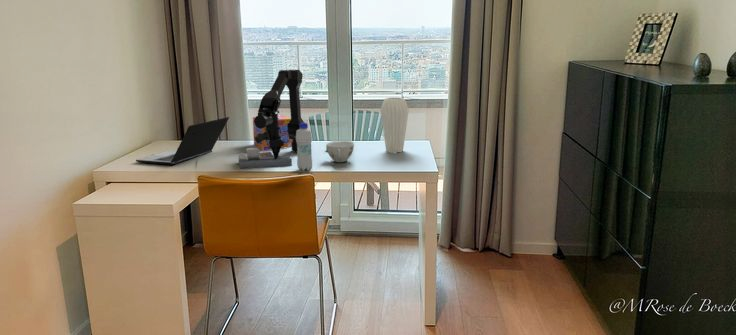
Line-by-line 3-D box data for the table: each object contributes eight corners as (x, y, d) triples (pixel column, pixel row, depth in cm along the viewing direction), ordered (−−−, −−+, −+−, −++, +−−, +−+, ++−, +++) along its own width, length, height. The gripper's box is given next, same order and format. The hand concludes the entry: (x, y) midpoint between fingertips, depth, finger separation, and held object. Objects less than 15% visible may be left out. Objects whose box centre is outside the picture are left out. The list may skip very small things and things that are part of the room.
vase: (399, 149, 270) (400, 96, 264) (413, 153, 258) (413, 98, 253) (376, 151, 264) (375, 97, 259) (388, 156, 253) (388, 100, 247)
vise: (289, 158, 248) (289, 150, 247) (294, 165, 235) (293, 156, 234) (238, 162, 242) (238, 153, 241) (240, 168, 229) (239, 159, 228)
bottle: (307, 167, 231) (305, 121, 226) (316, 169, 225) (314, 122, 221) (293, 169, 227) (292, 122, 222) (302, 172, 221) (300, 124, 217)
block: (258, 162, 240) (257, 147, 239) (259, 165, 236) (258, 149, 235) (247, 163, 239) (246, 148, 237) (247, 165, 235) (247, 150, 233)
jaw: (271, 160, 245) (271, 152, 244) (274, 165, 235) (273, 156, 234) (258, 161, 243) (257, 152, 242) (260, 166, 233) (259, 157, 232)
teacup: (327, 158, 250) (327, 141, 248) (354, 158, 249) (354, 141, 248) (324, 165, 235) (324, 147, 233) (353, 164, 235) (352, 146, 233)
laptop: (178, 150, 273) (175, 114, 269) (232, 154, 262) (230, 116, 258) (135, 162, 246) (130, 122, 241) (193, 167, 235) (189, 125, 231)
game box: (253, 146, 280) (252, 117, 277) (282, 144, 288) (280, 115, 285) (263, 151, 267) (262, 120, 264) (293, 148, 275) (291, 118, 271)
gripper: (251, 124, 243) (255, 157, 246) (255, 129, 225) (259, 165, 229) (276, 121, 246) (279, 154, 249) (282, 126, 228) (285, 162, 232)
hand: (275, 159), depth 240 cm, fingers closed, pressing on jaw
